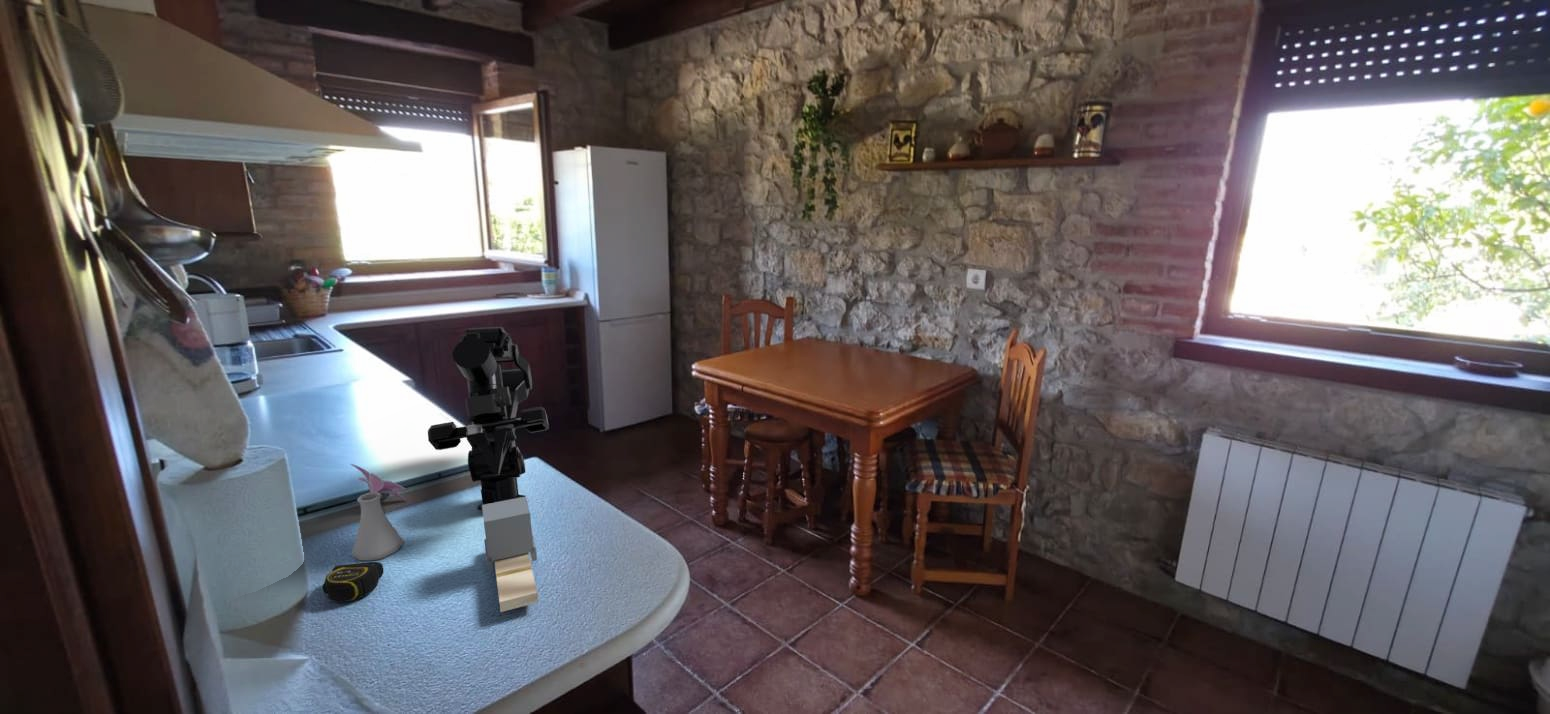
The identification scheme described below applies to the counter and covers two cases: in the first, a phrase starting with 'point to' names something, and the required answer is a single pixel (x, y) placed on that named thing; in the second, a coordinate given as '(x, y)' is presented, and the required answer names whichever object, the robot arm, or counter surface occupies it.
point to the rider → (507, 530)
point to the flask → (374, 531)
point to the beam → (515, 582)
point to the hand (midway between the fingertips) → (496, 474)
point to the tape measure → (352, 580)
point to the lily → (379, 483)
